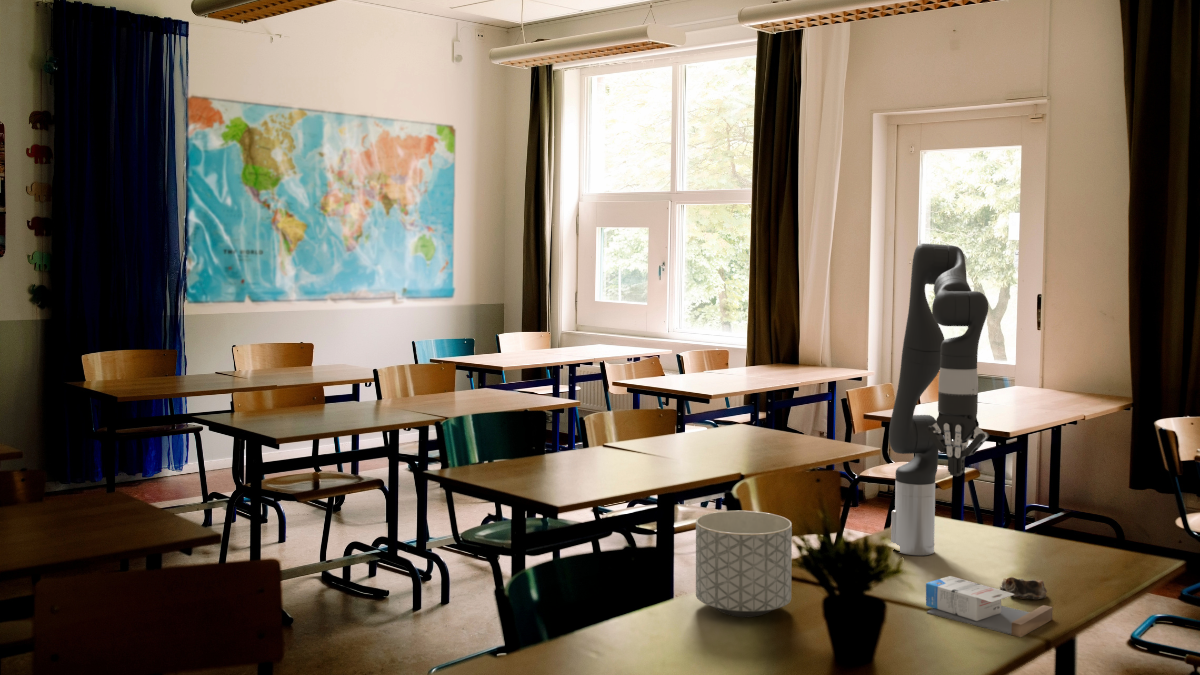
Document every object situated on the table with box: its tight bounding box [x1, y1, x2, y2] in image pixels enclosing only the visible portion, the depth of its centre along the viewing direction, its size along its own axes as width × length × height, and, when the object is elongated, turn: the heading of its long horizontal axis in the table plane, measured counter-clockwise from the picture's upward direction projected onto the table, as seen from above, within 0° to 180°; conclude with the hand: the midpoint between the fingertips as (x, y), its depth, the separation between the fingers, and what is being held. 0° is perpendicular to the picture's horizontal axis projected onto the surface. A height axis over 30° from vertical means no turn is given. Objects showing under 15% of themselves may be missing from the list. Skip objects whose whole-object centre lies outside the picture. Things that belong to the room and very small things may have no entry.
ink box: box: [925, 575, 1014, 621], centre depth 200 cm, size 8×5×15 cm
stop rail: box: [1010, 604, 1054, 638], centre depth 193 cm, size 2×14×2 cm, turn 134°
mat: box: [926, 605, 1031, 636], centre depth 200 cm, size 17×14×1 cm
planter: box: [695, 510, 793, 618], centre depth 202 cm, size 19×19×18 cm
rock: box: [999, 576, 1048, 601], centre depth 212 cm, size 9×6×10 cm
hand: (956, 475), depth 204 cm, fingers closed
